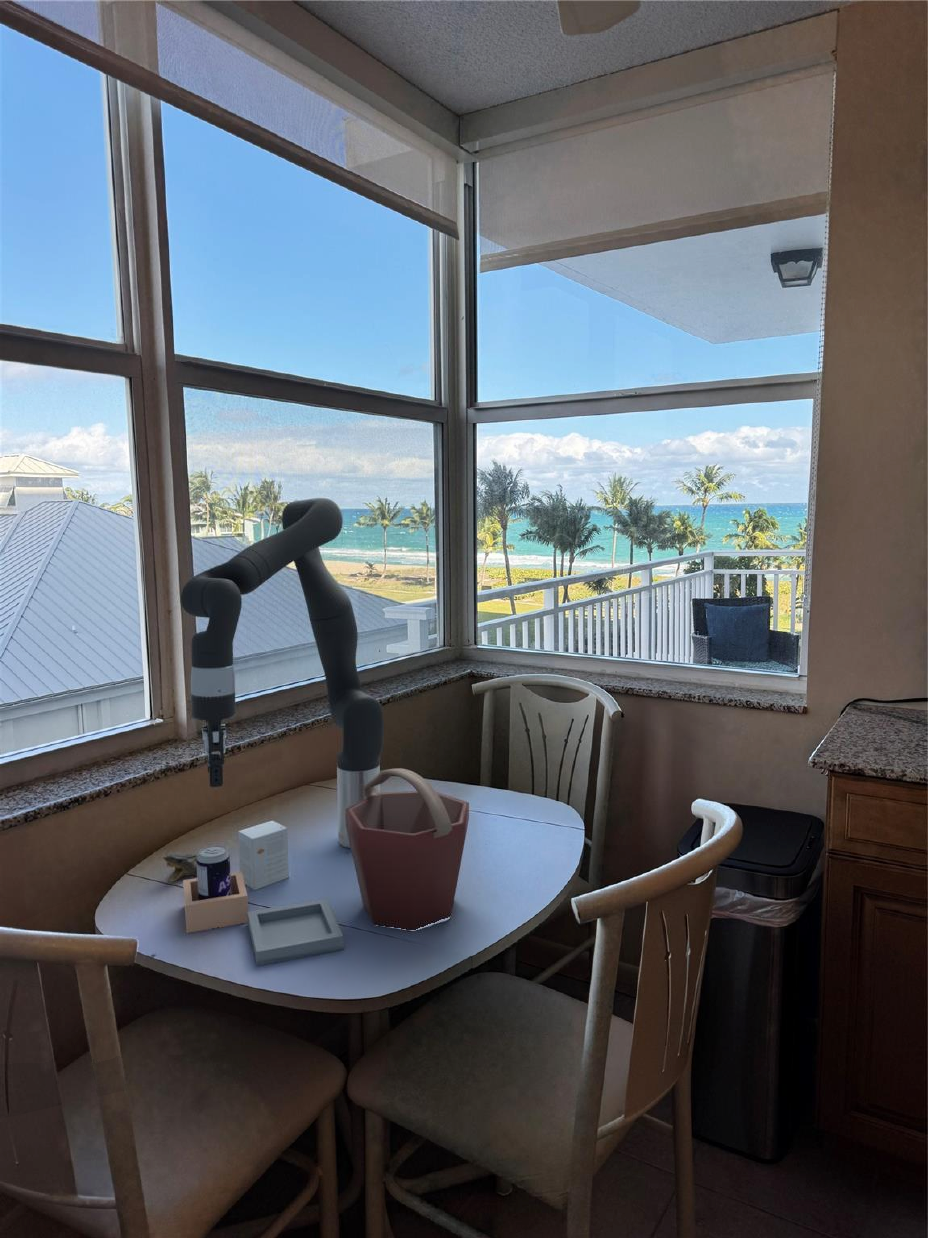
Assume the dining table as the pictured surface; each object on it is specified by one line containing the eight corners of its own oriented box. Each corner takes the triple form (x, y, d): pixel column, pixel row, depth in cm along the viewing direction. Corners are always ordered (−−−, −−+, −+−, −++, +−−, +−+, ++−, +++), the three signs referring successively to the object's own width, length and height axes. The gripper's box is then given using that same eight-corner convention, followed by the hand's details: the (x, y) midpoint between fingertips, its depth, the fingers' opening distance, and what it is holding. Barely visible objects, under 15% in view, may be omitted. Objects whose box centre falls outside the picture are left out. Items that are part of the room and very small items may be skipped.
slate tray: (327, 911, 149) (326, 898, 149) (343, 949, 136) (343, 936, 136) (247, 924, 144) (247, 912, 144) (257, 966, 131) (256, 952, 131)
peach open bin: (242, 896, 155) (241, 871, 154) (248, 922, 145) (247, 895, 144) (184, 906, 151) (183, 880, 150) (186, 933, 141) (185, 905, 141)
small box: (274, 869, 166) (273, 819, 165) (290, 878, 163) (288, 827, 161) (239, 882, 161) (237, 830, 160) (253, 891, 157) (251, 838, 156)
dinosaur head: (175, 893, 158) (175, 863, 156) (152, 881, 161) (151, 851, 159) (206, 874, 165) (206, 844, 163) (183, 862, 168) (183, 833, 166)
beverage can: (222, 923, 145) (219, 858, 143) (193, 920, 146) (190, 856, 144) (237, 908, 150) (235, 845, 149) (209, 905, 151) (206, 843, 150)
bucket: (338, 888, 158) (335, 763, 155) (446, 870, 166) (445, 750, 163) (370, 952, 135) (368, 806, 132) (494, 927, 143) (494, 789, 140)
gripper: (238, 697, 140) (239, 789, 142) (232, 681, 153) (233, 766, 155) (191, 700, 138) (194, 793, 139) (190, 683, 151) (192, 769, 153)
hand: (215, 779), depth 147 cm, fingers open, 8 cm apart
